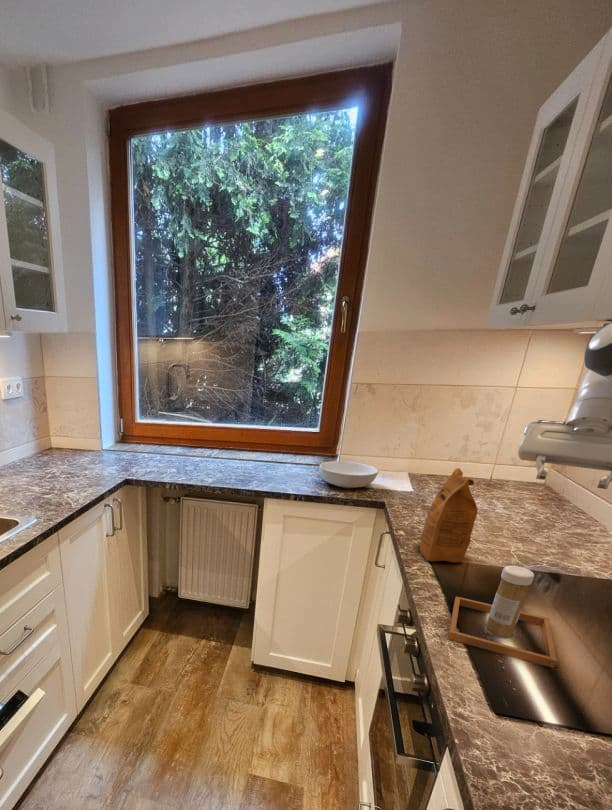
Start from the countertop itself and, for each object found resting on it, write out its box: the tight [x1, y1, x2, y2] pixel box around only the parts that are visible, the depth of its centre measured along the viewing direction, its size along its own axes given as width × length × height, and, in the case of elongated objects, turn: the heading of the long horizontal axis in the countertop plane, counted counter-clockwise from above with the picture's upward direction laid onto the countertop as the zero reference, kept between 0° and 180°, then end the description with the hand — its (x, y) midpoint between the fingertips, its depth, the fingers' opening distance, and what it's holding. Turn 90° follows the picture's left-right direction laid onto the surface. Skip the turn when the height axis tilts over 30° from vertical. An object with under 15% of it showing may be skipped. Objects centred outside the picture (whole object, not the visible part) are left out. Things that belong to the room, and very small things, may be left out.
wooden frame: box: [447, 596, 558, 669], centre depth 89 cm, size 16×16×3 cm
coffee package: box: [419, 467, 479, 563], centre depth 118 cm, size 10×12×22 cm
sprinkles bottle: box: [483, 565, 535, 639], centre depth 86 cm, size 5×5×13 cm
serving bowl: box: [318, 460, 379, 489], centre depth 179 cm, size 21×21×7 cm
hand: (570, 482), depth 91 cm, fingers open, 8 cm apart
